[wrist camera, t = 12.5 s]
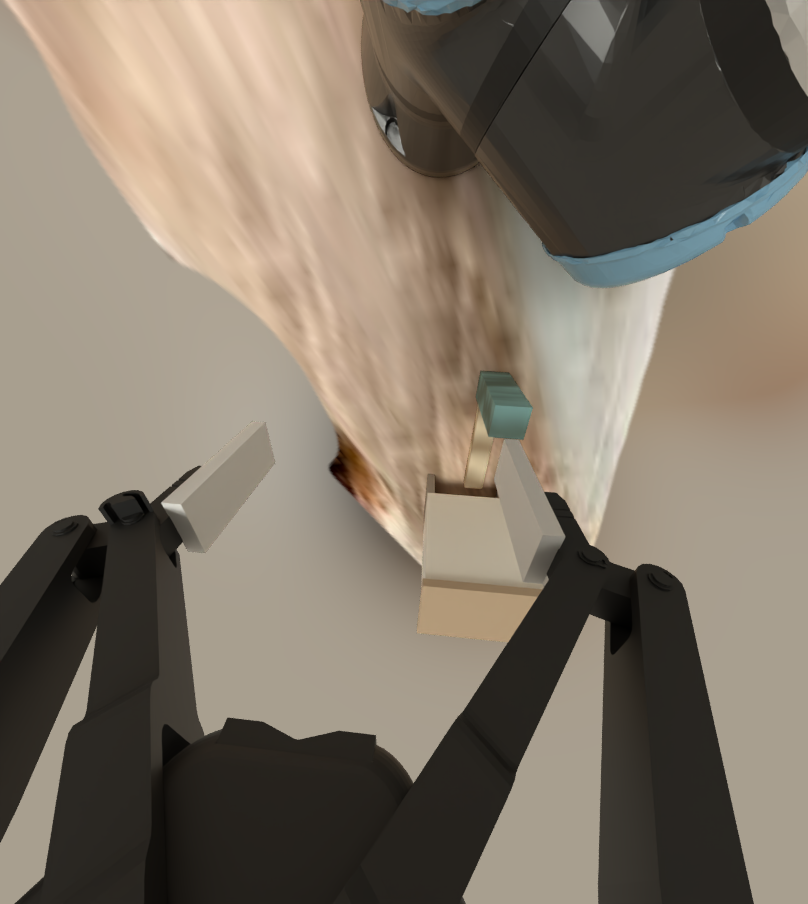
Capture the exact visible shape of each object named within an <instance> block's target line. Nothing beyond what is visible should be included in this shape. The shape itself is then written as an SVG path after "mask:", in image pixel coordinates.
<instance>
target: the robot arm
mask: <svg viewBox="0 0 808 904" xmlns="http://www.w3.org/2000/svg"><path fill="white" fill-rule="evenodd" d="M360 2H361V6H362V9H363V13H364V15H363V22H362V35H361V58H362V71H363V79H364V85H365V90H366V95H367V99H368V102H369V106H370V109H371V112H372V114H373V117H374V119H375V122H376V124H377V127H378V129H379V131H380V133H381V135H382V137H383V139H384V141H385V142H386V144H387V145H388V147H389V148H390V150H391V151H392V152H393V153H394V155H395V156H396V157H397V158H398V159H399V160H400V161H401V162H402V163H404V164H405V165H406V166H408V167H409V168H411V169H412V170H414V171H416V172H418V173H421V174H423V175H427V176H432V177H448V176H453V175H457V174H460V173H462V172H465V171H467V170H468V169H470V168H472V167H474V166H475V165H477V164H478V163H479V162H480V163H481V165H482V166H483V167H484V168H485V170H486V171H487V172H488V174H489V175H490V176H491V177H492V179H493V180H494V181H495V182H496V184H497V185H498V186H499V188H500V189H501V190H502V191H503V193H504V194H505V195H506V196H507V198H508V199H509V200H510V202H511V203H512V204H513V205H514V207H515V208H516V209H517V210H518V212H519V213H520V214H521V216H522V217H523V218H524V219H525V221H526V222H527V223H528V224H529V226H530V227H531V228H532V230H533V231H534V232H535V233H536V235H537V236H538V237H539V238H540V240H541V241H542V246H543V248H544V251H545V252H546V253H547V255H548V256H550V257H552V258H553V259H554V260H556V261H558V262H559V263H560V264H561V265H562V266H563V267H564V269H565V270H566V271H567V272H568V273H569V274H570V275H571V276H572V278H573V279H574V280H576V281H577V282H579V283H581V284H583V285H585V286H589V287H593V288H612V287H619V286H624V285H628V284H632V283H636V282H639V281H642V280H645V279H648V278H651V277H654V276H656V275H659V274H661V273H664V272H666V271H668V270H671V269H673V268H675V267H677V266H680V265H682V264H684V263H686V262H688V261H690V260H692V259H694V258H696V257H697V256H699V255H701V254H703V253H704V252H706V251H708V250H710V249H712V248H713V247H715V246H717V245H718V244H720V243H722V242H723V241H724V238H725V234H726V233H727V232H729V231H732V230H734V229H736V228H739V227H743V226H746V225H749V224H751V223H752V222H753V221H755V220H756V219H758V218H759V217H760V216H761V215H763V214H764V213H765V212H767V211H768V210H769V209H771V208H772V207H773V206H774V205H775V204H776V203H778V202H779V201H780V200H781V199H782V198H783V197H784V196H785V195H786V194H787V193H788V192H789V191H790V190H791V189H792V188H793V187H794V186H795V185H796V184H797V183H798V182H799V181H800V180H801V179H802V178H803V177H804V175H805V174H806V172H807V171H808V0H360ZM274 464H275V459H274V456H273V451H272V447H271V443H270V439H269V435H268V431H267V427H266V423H265V422H255V421H252V422H251V423H250V424H249V425H247V426H246V427H245V428H244V429H243V430H242V431H241V432H240V433H238V434H237V435H236V436H235V437H234V438H233V439H232V440H231V441H230V442H228V443H227V444H226V445H225V446H224V447H223V448H222V449H220V450H219V451H218V452H217V453H216V454H215V455H214V456H213V457H212V458H210V459H209V460H208V461H207V462H206V463H205V464H204V465H203V466H197V467H195V468H193V469H192V470H190V471H188V472H186V473H185V474H184V475H183V476H182V477H181V478H180V479H179V480H178V481H176V482H175V483H174V484H172V487H169V488H168V489H167V490H166V491H165V492H163V493H162V494H161V495H160V496H159V497H157V498H156V499H155V500H154V501H153V502H152V503H149V501H148V500H147V498H146V496H145V494H144V493H143V492H142V491H139V490H131V491H126V492H122V493H119V494H117V495H114V496H112V497H110V498H109V499H107V500H106V501H104V502H103V503H102V504H101V505H100V507H99V511H100V512H101V513H102V514H103V516H104V517H105V519H106V520H107V522H105V523H98V524H93V523H92V522H91V521H90V519H89V518H88V517H87V516H83V515H77V516H71V517H68V518H64V519H61V520H59V521H57V522H55V523H53V524H52V525H50V526H49V527H47V528H46V529H45V530H44V531H43V532H41V534H40V535H39V536H38V538H37V539H36V540H35V541H34V543H33V544H32V545H31V546H30V548H29V549H28V550H27V552H26V553H25V554H24V555H23V557H22V558H21V559H20V561H19V562H18V563H17V564H16V566H15V567H14V568H13V569H12V571H11V572H10V573H9V575H8V576H7V577H6V578H5V580H4V581H3V582H2V583H1V585H0V842H1V840H2V839H3V836H4V834H5V832H6V830H7V828H8V826H9V824H10V821H11V820H12V818H13V816H14V814H15V812H16V809H17V807H18V805H19V803H20V800H21V798H22V796H23V794H24V791H25V789H26V787H27V785H28V782H29V780H30V777H31V775H32V773H33V771H34V768H35V766H36V764H37V762H38V759H39V757H40V755H41V753H42V750H43V748H44V746H45V743H46V741H47V739H48V737H49V734H50V732H51V730H52V727H53V725H54V723H55V721H56V718H57V716H58V714H59V711H60V709H61V707H62V704H63V702H64V700H65V697H66V695H67V693H68V691H69V688H70V686H71V684H72V681H73V679H74V677H75V675H76V672H77V670H78V668H79V666H80V663H81V661H82V659H83V656H84V654H85V652H86V650H87V647H88V645H89V643H90V640H91V638H92V636H93V633H94V631H95V629H96V627H97V633H96V640H95V648H94V657H93V664H92V672H91V681H90V688H89V697H88V703H87V711H86V715H85V717H84V719H83V720H82V721H80V722H78V723H77V724H75V725H73V727H72V729H71V730H70V732H69V733H68V738H67V741H66V744H65V751H64V757H63V763H62V769H61V775H60V782H59V788H58V795H57V800H56V807H55V813H54V820H53V825H52V832H51V838H50V844H49V850H48V856H47V863H46V869H45V875H44V877H43V878H42V879H41V880H40V881H39V882H38V883H37V884H35V885H34V886H33V887H32V888H31V889H30V890H29V891H28V892H27V893H26V894H25V895H24V896H22V897H21V898H20V899H19V900H18V901H17V902H16V903H15V904H465V901H464V899H463V897H462V896H463V894H464V892H465V889H466V887H467V885H468V883H469V881H470V879H471V876H472V874H473V872H474V870H475V868H476V866H477V863H478V861H479V859H480V857H481V854H482V852H483V850H484V848H485V846H486V844H487V841H488V839H489V837H490V835H491V833H492V831H493V828H494V826H495V824H496V822H497V820H498V817H499V815H500V813H501V811H502V809H503V807H504V804H505V802H506V800H507V798H508V795H509V793H510V791H511V789H512V786H513V783H514V780H515V776H516V772H517V769H518V766H519V764H520V762H521V760H522V758H523V755H524V753H525V751H526V749H527V747H528V745H529V743H530V740H531V738H532V736H533V734H534V732H535V730H536V728H537V725H538V723H539V721H540V719H541V717H542V715H543V713H544V710H545V708H546V706H547V704H548V702H549V700H550V698H551V695H552V693H553V691H554V689H555V686H556V685H557V682H558V680H559V678H560V676H561V674H562V672H563V669H564V667H565V665H566V663H567V661H568V659H569V657H570V655H571V652H572V650H573V648H574V646H575V644H576V641H577V639H578V637H579V635H580V633H581V631H582V629H583V627H584V625H585V622H586V620H587V618H588V616H589V614H591V615H593V616H596V617H598V618H601V619H604V620H605V646H604V647H605V649H604V684H603V685H604V686H603V689H604V690H603V724H602V725H603V726H602V760H601V798H600V802H601V803H600V836H599V875H598V900H599V901H598V903H599V904H754V903H753V898H752V894H751V889H750V885H749V880H748V875H747V871H746V866H745V862H744V858H743V853H742V848H741V843H740V839H739V835H738V830H737V825H736V821H735V816H734V811H733V807H732V802H731V798H730V793H729V789H728V784H727V780H726V775H725V770H724V766H723V761H722V757H721V752H720V747H719V743H718V738H717V734H716V730H715V725H714V720H713V716H712V711H711V706H710V702H709V697H708V693H707V688H706V684H705V679H704V674H703V670H702V665H701V661H700V656H699V652H698V648H697V643H696V638H695V633H694V629H693V624H692V620H691V616H690V611H689V606H688V601H687V597H686V592H685V590H684V587H683V585H682V583H681V582H680V581H679V580H678V579H677V578H676V577H675V576H673V575H672V574H671V573H669V572H668V571H667V570H665V569H663V568H661V567H659V566H655V565H652V564H642V565H640V566H638V567H637V569H636V570H635V571H634V570H631V569H628V568H625V567H622V566H619V565H616V564H613V563H611V562H609V560H608V558H607V557H606V556H605V554H604V553H603V552H602V551H600V550H599V549H597V548H596V547H594V546H591V545H589V543H588V541H587V540H586V538H585V536H584V534H583V532H582V531H581V529H580V527H579V525H578V523H577V521H576V520H575V519H574V516H573V514H572V512H571V511H570V509H569V507H568V505H567V503H566V502H565V500H564V499H562V498H561V497H560V496H559V495H558V494H557V493H552V492H544V491H543V489H542V487H541V485H540V483H539V481H538V479H537V477H536V475H535V473H534V470H533V468H532V466H531V464H530V462H529V460H528V458H527V456H526V454H525V452H524V450H523V448H522V446H521V443H520V441H519V440H514V439H504V442H503V446H502V450H501V454H500V458H499V462H498V465H497V469H496V473H495V477H494V481H495V485H496V488H497V492H498V496H499V499H500V503H501V506H502V510H503V513H504V517H505V520H506V524H507V527H508V531H509V535H510V538H511V542H512V545H513V549H514V552H515V556H516V559H517V563H518V567H519V570H520V574H521V577H522V581H523V582H525V583H536V584H543V582H544V580H545V578H546V576H548V579H549V580H548V582H547V583H546V585H545V586H544V588H543V589H542V591H541V593H540V594H539V596H538V597H537V599H536V600H535V602H534V603H533V605H532V606H531V608H530V609H529V611H528V613H527V614H526V616H525V617H524V619H523V620H522V622H521V623H520V625H519V626H518V628H517V629H516V631H515V633H514V634H513V636H512V637H511V639H510V640H509V642H508V643H507V645H506V646H505V648H504V649H503V651H502V653H501V654H500V656H499V657H498V659H497V660H496V662H495V663H494V665H493V666H492V668H491V669H490V671H489V673H488V674H487V676H486V677H485V679H484V680H483V682H482V683H481V685H480V686H479V688H478V690H477V691H476V693H475V694H474V696H473V697H472V699H471V700H470V702H469V703H468V705H467V706H466V708H465V709H464V711H463V712H462V713H461V714H460V715H459V716H458V718H457V719H456V720H455V722H454V723H453V724H452V726H451V727H450V729H449V730H448V732H447V734H446V735H445V736H444V738H443V739H442V741H441V742H440V744H439V746H438V747H437V749H436V750H435V752H434V753H433V755H432V756H431V758H430V759H429V761H428V762H427V764H426V765H425V767H424V769H423V770H422V772H421V773H420V775H419V776H418V778H417V779H416V781H415V782H414V783H413V782H412V780H411V778H410V776H409V775H408V773H407V772H406V770H405V769H404V768H403V766H402V765H401V764H400V762H398V760H397V759H396V758H395V757H393V755H391V754H390V753H389V752H387V751H386V750H385V749H383V748H381V747H379V746H377V745H376V735H369V734H361V733H353V732H343V731H336V732H332V733H327V734H323V735H318V736H315V737H309V738H305V739H300V740H297V739H293V738H292V737H290V736H288V735H286V734H284V733H283V732H281V731H279V730H277V729H275V728H273V727H272V726H270V725H268V724H266V723H264V722H260V721H251V720H243V719H235V718H227V720H226V722H225V725H224V727H223V729H221V730H218V731H215V732H213V733H210V734H208V735H206V736H204V732H203V729H202V727H201V724H200V722H199V719H198V715H197V710H196V700H195V692H194V682H193V674H192V664H191V655H190V646H189V637H188V628H187V619H186V610H185V601H184V592H183V583H182V574H181V565H180V556H179V553H178V551H177V550H176V549H177V548H178V546H179V545H180V544H181V543H182V542H183V543H184V545H185V547H186V549H187V551H188V552H199V553H206V552H207V551H208V549H209V548H210V547H211V545H212V544H213V543H214V541H215V540H216V539H217V538H218V536H219V535H220V534H221V532H222V531H223V530H224V528H225V527H226V526H227V525H228V523H229V522H230V521H231V519H232V518H233V517H234V516H235V514H236V513H237V512H238V510H239V509H240V508H241V506H242V505H243V504H244V503H245V501H246V500H247V499H248V497H249V496H250V495H251V494H252V492H253V491H254V490H255V488H256V487H257V486H258V484H259V483H260V482H261V480H262V479H263V478H264V477H265V475H266V474H267V473H268V472H269V470H270V469H271V468H272V466H273V465H274ZM71 575H72V576H71Z"/></svg>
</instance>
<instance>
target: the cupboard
mask: <svg viewBox="0 0 808 904" xmlns="http://www.w3.org/2000/svg"><path fill="white" fill-rule="evenodd" d="M543 588H544V586H543V584H536V583H525V582H523V581H522V577H521V574H520V570H519V567H518V563H517V559H516V556H515V552H514V549H513V545H512V542H511V538H510V535H509V531H508V527H507V524H506V520H505V517H504V513H503V510H502V506H501V503H500V499H499V496H498V492H497V494H496V498H489V497H476V496H463V495H451V494H438V493H435V475H431V474H428V478H427V488H426V498H425V508H424V526H423V556H422V587H421V597H420V606H419V615H418V623H417V633H421V634H431V635H440V636H450V637H460V638H470V639H480V640H489V641H499V642H500V641H501V642H509V640H510V639H511V637H512V636H513V634H514V633H515V631H516V629H517V628H518V626H519V625H520V623H521V622H522V620H523V619H524V617H525V616H526V614H527V613H528V611H529V609H530V608H531V606H532V605H533V603H534V602H535V600H536V599H537V597H538V596H539V594H540V593H541V591H542V589H543Z"/></svg>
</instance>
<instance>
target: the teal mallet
mask: <svg viewBox="0 0 808 904" xmlns="http://www.w3.org/2000/svg"><path fill="white" fill-rule="evenodd" d="M476 399H477V402H478V406H477V412H476V417H475V423H474V428H473V433H472V439H471V444H470V450H469V455H468V460H467V466H466V471H465V477H464V487H465V488H476V489H482V486H483V482H484V478H485V474H486V469H487V465H488V461H489V456H490V452H491V448H492V443H493V439H494V438H508V439H522V440H523V439H524V436H525V433H526V429H527V426H528V422H529V419H530V416H531V412H532V409H533V407H532V406H531V404H530V403H529V401H528V400H527V398H526V397H525V395H524V394H523V393H522V391H521V390H520V388H519V387H518V385H517V384H516V382H515V381H514V379H513V378H512V376H511V375H510V373H508V372H491V371H480V377H479V382H478V388H477V393H476Z"/></svg>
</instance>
